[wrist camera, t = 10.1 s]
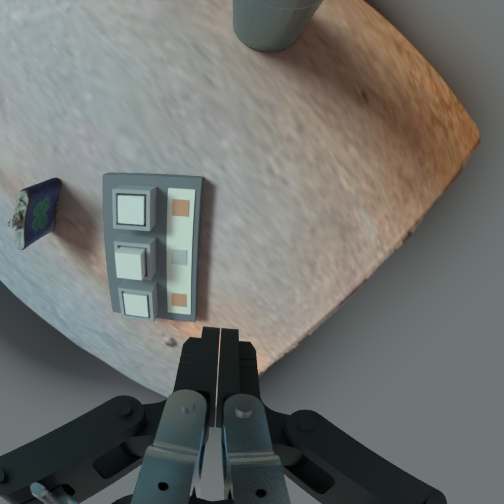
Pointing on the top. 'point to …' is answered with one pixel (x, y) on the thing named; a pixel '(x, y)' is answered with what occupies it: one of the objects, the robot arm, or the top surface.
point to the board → (156, 242)
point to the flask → (35, 212)
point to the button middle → (131, 262)
